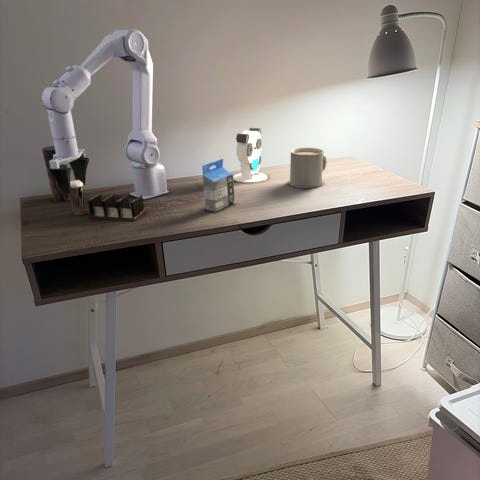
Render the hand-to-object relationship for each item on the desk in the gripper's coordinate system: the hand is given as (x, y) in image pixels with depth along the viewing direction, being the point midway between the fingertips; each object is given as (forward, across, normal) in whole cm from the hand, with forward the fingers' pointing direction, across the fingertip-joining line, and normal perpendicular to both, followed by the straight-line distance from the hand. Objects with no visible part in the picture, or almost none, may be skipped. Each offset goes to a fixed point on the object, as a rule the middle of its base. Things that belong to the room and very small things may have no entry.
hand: (74, 189), depth 140 cm
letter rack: (+7, 0, +12) cm, 14 cm away
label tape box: (+7, -12, +38) cm, 40 cm away
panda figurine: (+7, -42, +39) cm, 58 cm away
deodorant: (+7, -12, -12) cm, 18 cm away
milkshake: (+7, 0, 0) cm, 7 cm away
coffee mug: (+7, -40, +60) cm, 72 cm away
